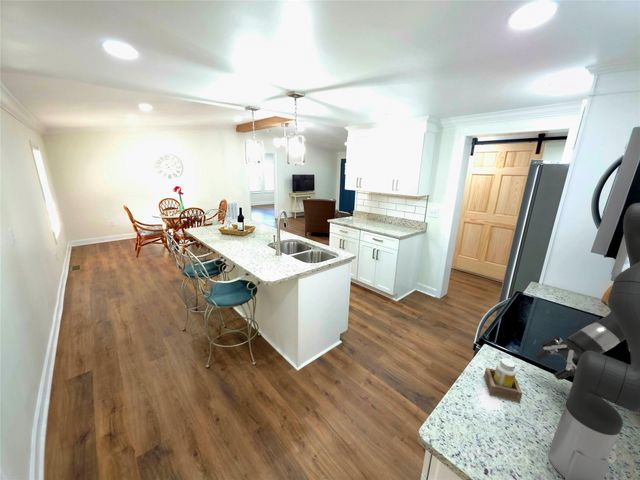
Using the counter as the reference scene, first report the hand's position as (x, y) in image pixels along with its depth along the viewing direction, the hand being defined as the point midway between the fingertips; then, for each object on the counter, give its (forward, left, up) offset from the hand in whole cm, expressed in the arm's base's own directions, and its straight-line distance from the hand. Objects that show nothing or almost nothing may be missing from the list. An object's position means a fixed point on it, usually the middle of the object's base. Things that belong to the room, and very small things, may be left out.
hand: (545, 367), depth 86 cm
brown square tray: (-3, +12, -10) cm, 16 cm away
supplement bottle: (-3, +12, -8) cm, 15 cm away
